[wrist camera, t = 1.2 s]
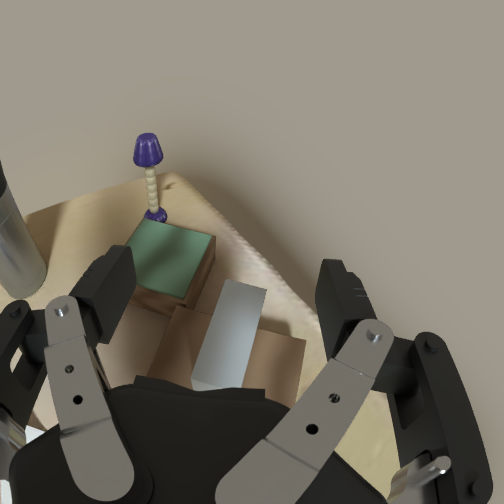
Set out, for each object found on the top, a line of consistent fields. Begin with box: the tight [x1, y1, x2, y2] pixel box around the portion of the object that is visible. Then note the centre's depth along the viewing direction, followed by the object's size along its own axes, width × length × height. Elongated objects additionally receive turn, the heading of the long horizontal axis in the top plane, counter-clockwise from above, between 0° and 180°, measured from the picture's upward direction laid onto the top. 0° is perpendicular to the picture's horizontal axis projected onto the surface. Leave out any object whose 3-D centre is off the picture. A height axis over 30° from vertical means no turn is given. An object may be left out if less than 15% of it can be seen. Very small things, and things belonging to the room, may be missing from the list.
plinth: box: [125, 218, 216, 317], centre depth 41 cm, size 12×12×6 cm
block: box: [190, 279, 267, 391], centre depth 26 cm, size 4×9×11 cm, turn 167°
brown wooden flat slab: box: [147, 305, 306, 409], centre depth 31 cm, size 16×13×5 cm
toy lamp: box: [133, 133, 167, 223], centre depth 44 cm, size 5×5×17 cm
